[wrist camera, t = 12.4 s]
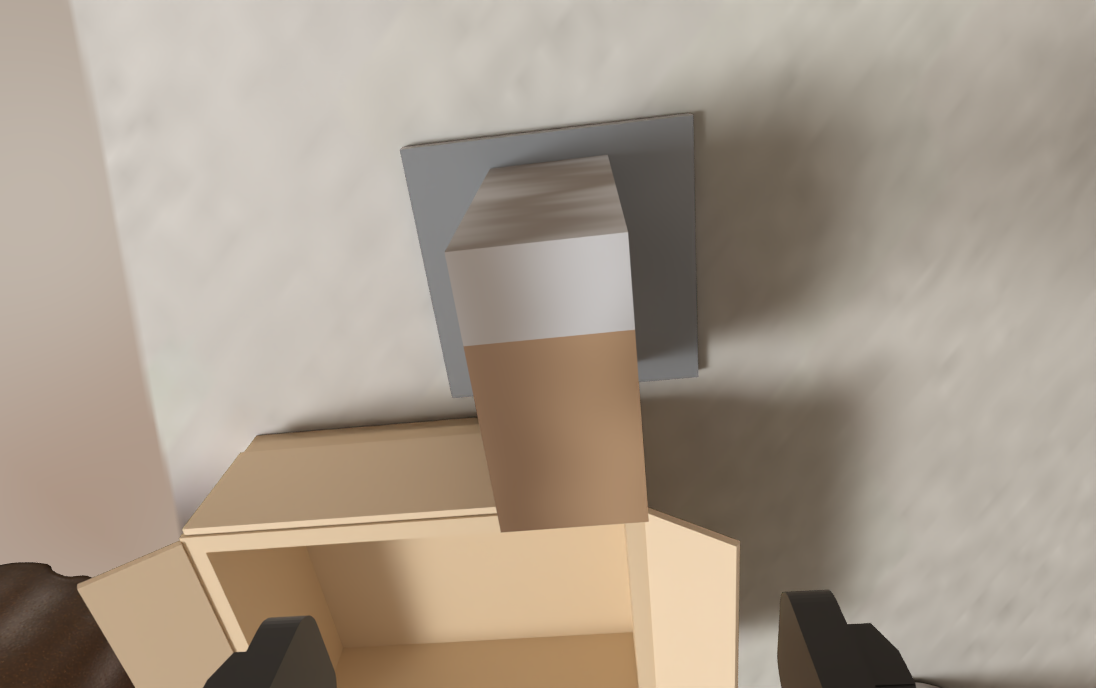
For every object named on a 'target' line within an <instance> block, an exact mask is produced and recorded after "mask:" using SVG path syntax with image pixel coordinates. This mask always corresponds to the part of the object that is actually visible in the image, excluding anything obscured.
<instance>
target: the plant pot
mask: <svg viewBox="0 0 1096 688" xmlns="http://www.w3.org/2000/svg"><path fill="white" fill-rule="evenodd" d="M89 579H91V577H89V576H73V577H68V576H63V575H60V574H57V573H56V572H54V571H53V570H52V569H51V566H49V565H48V564H42V563H33V562H32V563H29V562H28V563H27V562H25V563H10V564H4V565H0V688H135V686H134V685H133V683H132V681H131V679H130V678H129V676H128V674H127V673H126V671H125V669H124V668H123V666H122V664H121V663H120V661H119V659H118V658H117V656H116V654H115V652H114V651H113V649H112V647H111V646H110V644H109V642H108V641H107V639H106V637H105V636H104V634H103V632H102V630H101V629H100V627H99V625H98V624H97V622H96V620H95V619H94V617H93V615H92V614H91V612H90V610H89V608H88V607H87V605H86V603H85V602H84V600H83V598H82V597H81V595H80V593H79V592H78V590H77V584H79V583H82V582H84V581H86V580H89Z"/></svg>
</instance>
